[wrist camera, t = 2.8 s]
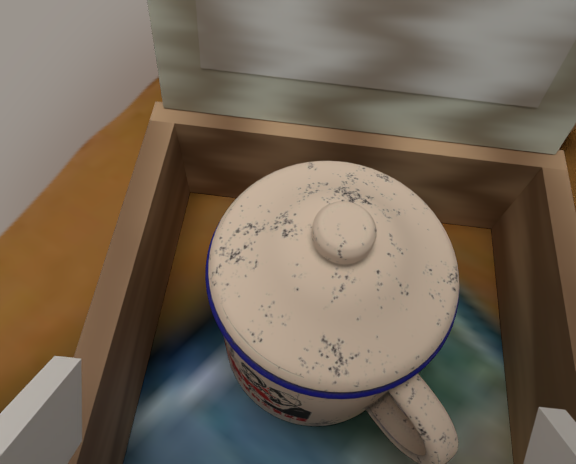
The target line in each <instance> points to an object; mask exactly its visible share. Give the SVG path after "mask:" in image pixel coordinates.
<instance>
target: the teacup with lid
mask: <svg viewBox="0 0 576 464" xmlns="http://www.w3.org/2000/svg"><path fill="white" fill-rule="evenodd" d="M206 288H207V295H208V299H209V304H210V307H211V310H212V313H213V316H214V318H215V321H216V323H217V325H218V327H219V329H220V331H221V332H222V334H223V336H224V340H225V345H226V349H227V354H228V358H229V362H230V365H231V368H232V370H233V373H234V375H235V377H236V379H237V381H238V382H239V384H240V386H241V387H242V388H243V390H244V391H245V392H246V394H247V395H248V396H249V397H250V398H251V399H252V400H253V401H254V402H255V403H256V404H257V405H259V406H260V407H261V408H262V409H264V410H265V411H267V412H268V413H270V414H272V415H273V416H275V417H278V418H280V419H282V420H285V421H287V422H291V423H295V424H299V425H306V426H326V425H332V424H336V423H340V422H344V421H346V420H349V419H351V418H353V417H355V416H357V415H359V414H360V413H362V412H363V411H365V410H366V411H367V412H368V413H369V415H370V416H371V417H372V419H373V420H374V421H375V423H376V424H377V425H378V426H379V428H380V429H381V430H382V431H383V433H384V434H385V435H386V436H387V437H388V438H389V440H390V441H391V442H392V443H393V444H394V445H395V446H396V447H397V448H398V449H399V450H401V451H402V452H403V453H404V454H405V455H407V456H408V457H409V458H411V459H412V460H414V461H415V462H417V463H419V464H445V463H447V462H448V461H449V460H450V459H451V458H452V457H453V456H454V455H455V454H456V452H457V450H458V437H457V433H456V430H455V428H454V425H453V423H452V421H451V419H450V417H449V415H448V413H447V412H446V410H445V408H444V407H443V405H442V404H441V402H440V401H439V399H438V398H437V397H436V395H435V394H434V393H433V391H432V390H431V389H430V388H429V386H428V385H427V384H426V383H425V381H424V380H423V379H422V378H421V376H420V375H419V374H418V373H419V372H420V371H421V370H422V369H423V368H424V367H426V366H427V365H428V364H429V362H430V361H431V360H432V359H433V358H434V357H435V356H436V354H437V353H438V352H439V350H440V349H441V348H442V346H443V344H444V343H445V341H446V339H447V337H448V335H449V333H450V331H451V328H452V326H453V323H454V320H455V317H456V313H457V307H458V301H459V272H458V265H457V260H456V256H455V252H454V250H453V247H452V244H451V241H450V239H449V237H448V235H447V233H446V231H445V229H444V227H443V226H442V224H441V222H440V221H439V219H438V218H437V217H436V215H435V214H434V212H433V211H432V210H431V209H430V208H429V207H428V205H427V204H426V203H425V202H424V201H423V200H422V199H421V198H420V197H419V196H418V195H417V194H415V193H414V192H413V191H412V190H410V189H409V188H408V187H406V186H405V185H403V184H402V183H401V182H399V181H397V180H395V179H394V178H392V177H390V176H388V175H386V174H384V173H382V172H379V171H377V170H374V169H372V168H369V167H365V166H362V165H358V164H353V163H348V162H340V161H313V162H305V163H300V164H296V165H292V166H288V167H285V168H283V169H280V170H277V171H275V172H273V173H271V174H269V175H267V176H265V177H263V178H262V179H260V180H258V181H257V182H255V183H254V184H252V185H251V186H250V187H248V188H247V189H246V190H245V191H244V192H243V193H241V194H240V195H239V196H238V197H237V199H236V200H235V201H234V202H233V203H232V204H231V206H230V207H229V208H228V209H227V211H226V212H225V214H224V215H223V217H222V219H221V220H220V222H219V224H218V226H217V228H216V230H215V232H214V234H213V237H212V240H211V243H210V246H209V250H208V254H207V261H206ZM388 391H389V392H388ZM390 394H391V395H392V396H393V397H392V396H391V395H390ZM394 399H395V400H396V401H395V400H394ZM397 403H398V404H399V405H398V404H397Z"/></svg>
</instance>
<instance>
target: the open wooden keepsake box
mask: <svg viewBox="0 0 576 464" xmlns="http://www.w3.org/2000/svg"><path fill="white" fill-rule="evenodd" d="M147 3H148V10H149V16H150V22H151V29H152V35H153V41H154V48H155V55H156V61H157V68H158V74H159V81H160V87H161V94H162V100H163V102H155V105H154V108H153V111H152V115H151V118H150V121H149V124H148V127H147V130H146V133H145V136H144V140H143V143H142V146H141V149H140V152H139V155H138V158H137V161H136V165H135V168H134V171H133V174H132V177H131V180H130V183H129V186H128V190H127V193H126V196H125V199H124V202H123V205H122V208H121V211H120V215H119V218H118V221H117V224H116V227H115V230H114V233H113V236H112V239H111V243H110V246H109V249H108V252H107V255H106V258H105V261H104V264H103V268H102V271H101V274H100V277H99V280H98V283H97V286H96V289H95V293H94V296H93V299H92V302H91V305H90V308H89V311H88V314H87V318H86V321H85V324H84V327H83V330H82V333H81V336H80V339H79V343H78V346H77V349H76V352H75V355H74V358H79V359H81V375H82V442H81V443H80V445H79V446H78V448H77V450H76V451H75V453H74V454H73V456H72V457H71V459H70V461H69V462H68V464H123V461H124V457H125V453H126V449H127V445H128V441H129V437H130V432H131V428H132V424H133V420H134V416H135V412H136V408H137V404H138V400H139V396H140V392H141V388H142V384H143V380H144V376H145V372H146V368H147V364H148V360H149V356H150V352H151V348H152V344H153V339H154V335H155V331H156V327H157V323H158V319H159V315H160V311H161V307H162V303H163V299H164V295H165V291H166V287H167V283H168V279H169V275H170V271H171V267H172V263H173V259H174V255H175V251H176V247H177V242H178V238H179V234H180V230H181V226H182V222H183V218H184V214H185V210H186V206H187V202H188V198H189V194H190V192H193V193H201V194H209V195H218V196H226V197H234V198H237V197H238V196H239V195H240V194H241V193H243V192H244V191H245V190H246V189H247V188H248V187H250V186H251V185H252V184H254V183H255V182H257V181H258V180H260V179H262V178H263V177H265V176H267V175H269V174H271V173H273V172H275V171H277V170H280V169H283V168H285V167H288V166H292V165H296V164H300V163H305V162H313V161H340V162H348V163H353V164H358V165H362V166H365V167H369V168H372V169H374V170H377V171H379V172H382V173H384V174H386V175H388V176H390V177H392V178H394V179H395V180H397V181H399V182H401V183H402V184H403V185H405V186H406V187H408V188H409V189H410V190H412V191H413V192H414V193H415V194H417V195H418V196H419V197H420V198H421V199H422V200H423V201H424V202H425V203H426V204H427V205H428V207H429V208H430V209H431V210H432V211H433V212H434V214H435V215H436V217H437V218H438V219H439V221H440V222H441V223H448V224H457V225H465V226H473V227H481V228H489V229H491V232H492V242H493V252H494V263H495V273H496V284H497V294H498V305H499V315H500V325H501V336H502V346H503V357H504V367H505V378H506V388H507V398H508V409H509V419H510V430H511V440H512V451H513V461H514V464H523V463H524V459H525V456H526V452H527V448H528V445H529V441H530V437H531V434H532V430H533V426H534V423H535V419H536V415H537V411H538V408H539V407H544V408H554V409H563V410H566V411H567V412H568V413H569V415H570V416H571V417H572V418H573V419H574V421H575V422H576V212H575V206H574V201H573V196H572V191H571V186H570V180H569V175H568V170H567V165H566V160H565V154H564V150H559V148H560V147H561V145H562V144H563V142H564V140H565V139H566V137H567V136H568V134H569V133H570V131H571V130H572V128H573V127H574V125H575V123H576V0H147Z"/></svg>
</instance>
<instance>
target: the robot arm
mask: <svg viewBox="0 0 576 464" xmlns="http://www.w3.org/2000/svg"><path fill="white" fill-rule="evenodd" d="M81 442H82V375H81V359H79V358H70V357H60V356H54V357H53V358H52V359H51V360H50V361H49V362H48V363H47V365H46V366H45V367H44V368H43V369H42V370H41V371H40V372H39V373H38V374H37V375H36V376H35V377H34V378H33V379H32V380H31V381H30V383H29V384H28V385H27V386H26V387H25V388H24V389H23V390H22V391H21V392H20V393H19V394H18V395H17V396H16V397H15V398H14V399H13V401H12V402H11V403H10V404H9V405H8V406H7V407H6V408H5V409H4V410H3V411H2V412H1V413H0V464H68V462H69V461H70V459H71V457H72V456H73V454H74V453H75V451H76V450H77V448H78V446H79V445H80V443H81ZM523 464H576V422H575V421H574V419H573V418H572V417H571V416H570V415H569V413H568V412H567V411H566V410H563V409H554V408H544V407H539V408H538V411H537V415H536V419H535V423H534V426H533V430H532V434H531V437H530V441H529V445H528V448H527V452H526V456H525V459H524V463H523Z"/></svg>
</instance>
